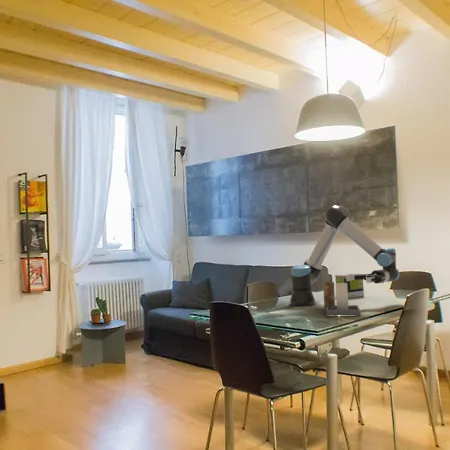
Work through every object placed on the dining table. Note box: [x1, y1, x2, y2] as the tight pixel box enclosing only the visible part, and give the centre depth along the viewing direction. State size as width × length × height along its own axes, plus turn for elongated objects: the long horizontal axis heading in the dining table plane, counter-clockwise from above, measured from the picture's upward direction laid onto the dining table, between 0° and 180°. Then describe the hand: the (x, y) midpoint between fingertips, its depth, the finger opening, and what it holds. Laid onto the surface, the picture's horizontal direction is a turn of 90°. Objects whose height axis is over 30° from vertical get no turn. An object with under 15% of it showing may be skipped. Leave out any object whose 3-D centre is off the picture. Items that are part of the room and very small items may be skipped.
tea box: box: [334, 273, 365, 299], centre depth 328 cm, size 15×10×15 cm
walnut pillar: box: [322, 281, 336, 310], centre depth 282 cm, size 6×6×15 cm
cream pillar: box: [335, 282, 349, 310], centre depth 265 cm, size 6×6×15 cm
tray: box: [325, 304, 362, 317], centre depth 265 cm, size 17×17×3 cm
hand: (356, 279), depth 274 cm, fingers open, 13 cm apart
